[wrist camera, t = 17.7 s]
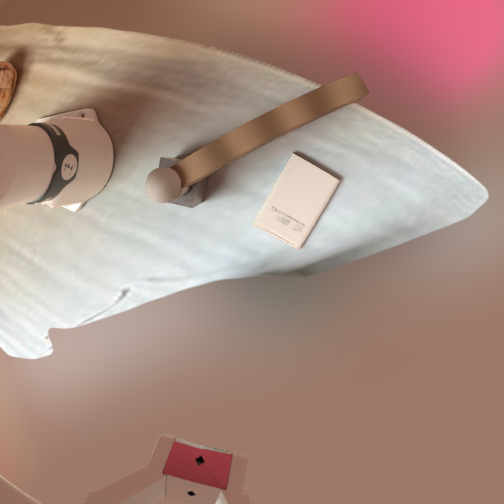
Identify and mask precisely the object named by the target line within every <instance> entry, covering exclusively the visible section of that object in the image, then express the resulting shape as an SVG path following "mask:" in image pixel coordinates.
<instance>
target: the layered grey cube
mask: <svg viewBox="0 0 504 504" xmlns="http://www.w3.org/2000/svg"><path fill="white" fill-rule="evenodd" d="M181 160H183V159H178V158H160V163H159V168H161V167H172V166H173V165H175V164H176V163H178V162H180V161H181ZM207 180H208V176H206V177H205V178H203V179H201V180H200V181H198V182H196V183H194V184H193V185H191V186H190V187H189V190H188V192H187V193H186V194H185V195H184V196H182V197H180V198H178V199H175V200H172V201H169V203H173V204H177V205H182V206H186V207H190V208H193V207H195V206H197V205H199V204H201V203H203V199H204V194H205V189H206V184H207Z"/></svg>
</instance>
